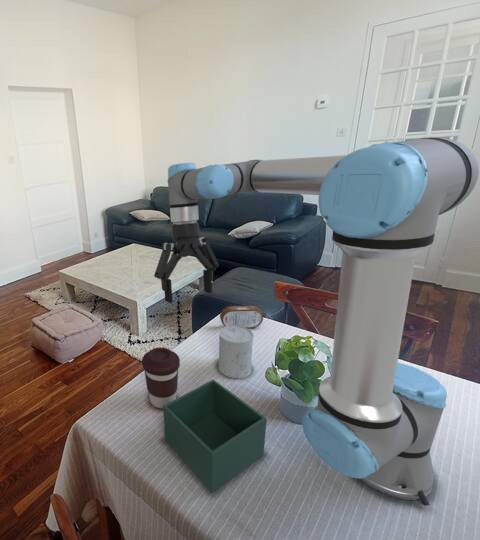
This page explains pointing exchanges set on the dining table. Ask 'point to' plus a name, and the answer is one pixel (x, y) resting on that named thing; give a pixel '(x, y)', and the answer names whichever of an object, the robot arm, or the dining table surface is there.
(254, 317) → the tin
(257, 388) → the dining table surface
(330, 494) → the dining table surface
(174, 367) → the coffee cup
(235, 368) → the white mottled cylinder
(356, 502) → the dining table surface
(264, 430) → the bin
